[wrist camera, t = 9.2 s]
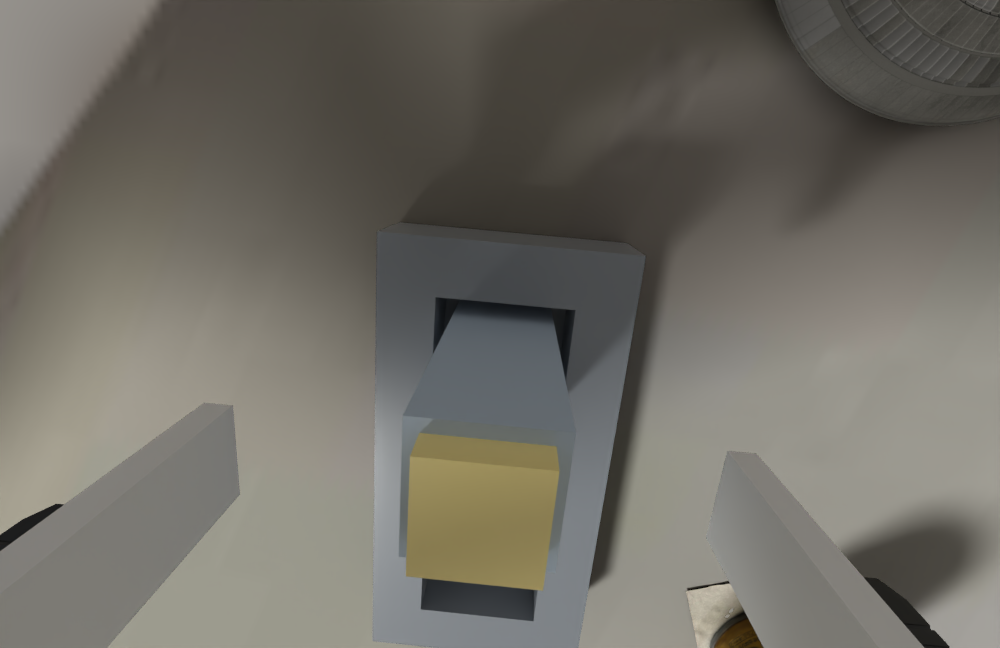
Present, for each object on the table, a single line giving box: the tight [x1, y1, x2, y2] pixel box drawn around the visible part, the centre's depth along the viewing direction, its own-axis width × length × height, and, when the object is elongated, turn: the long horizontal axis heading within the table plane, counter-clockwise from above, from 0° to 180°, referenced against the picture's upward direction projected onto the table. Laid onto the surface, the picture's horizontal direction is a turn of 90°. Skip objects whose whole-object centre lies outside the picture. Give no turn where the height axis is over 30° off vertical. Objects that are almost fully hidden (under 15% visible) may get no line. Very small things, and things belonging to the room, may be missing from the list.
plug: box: [399, 299, 576, 591], centre depth 17 cm, size 4×4×12 cm
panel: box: [373, 222, 646, 648], centre depth 23 cm, size 10×20×4 cm, turn 175°
